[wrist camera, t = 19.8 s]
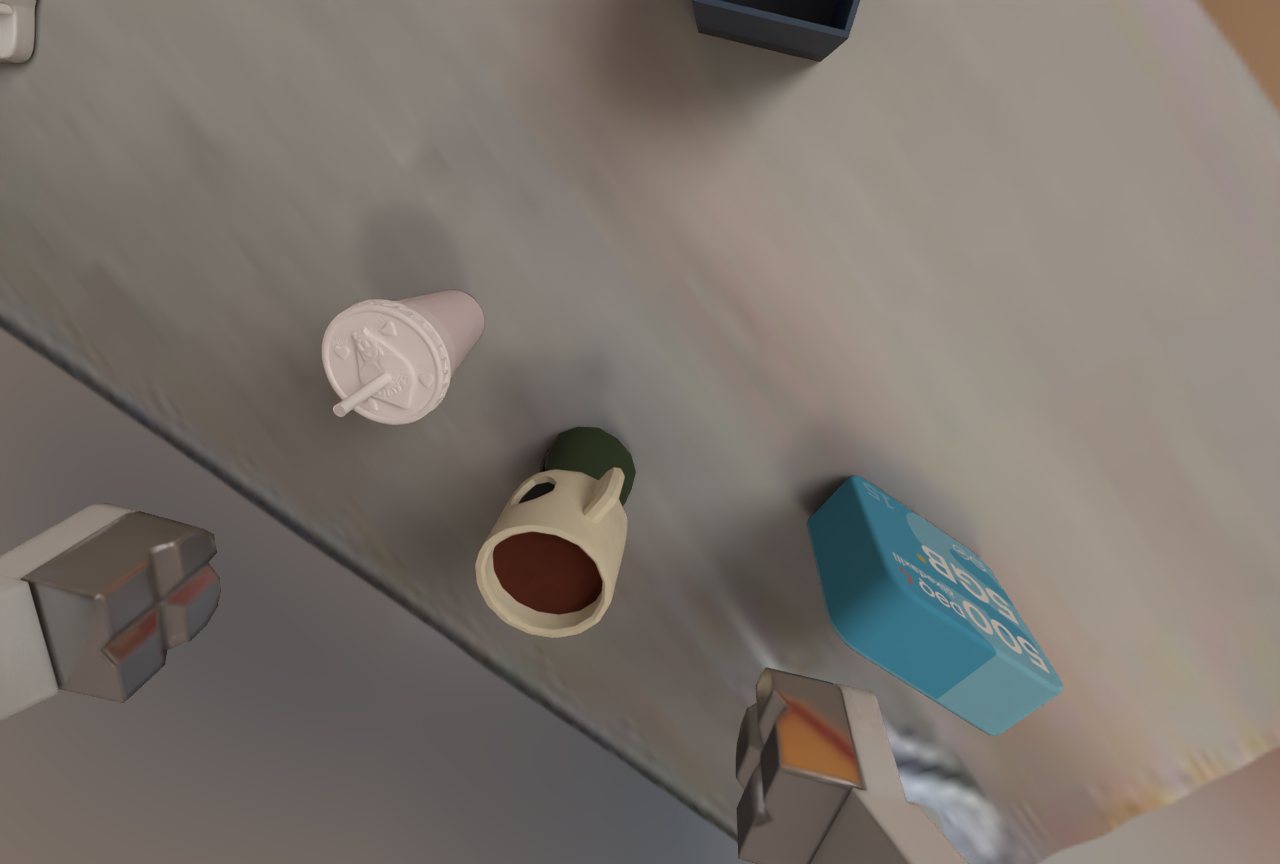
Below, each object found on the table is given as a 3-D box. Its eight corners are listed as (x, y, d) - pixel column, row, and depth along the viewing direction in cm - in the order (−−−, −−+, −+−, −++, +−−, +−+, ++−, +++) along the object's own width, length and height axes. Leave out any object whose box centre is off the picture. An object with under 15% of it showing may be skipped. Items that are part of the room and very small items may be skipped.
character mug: (597, 375, 40) (545, 470, 28) (681, 441, 41) (666, 558, 29) (507, 485, 44) (430, 607, 32) (586, 542, 45) (539, 679, 34)
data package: (985, 559, 42) (1077, 702, 31) (936, 601, 44) (1007, 749, 33) (847, 465, 40) (893, 582, 30) (802, 512, 42) (830, 638, 31)
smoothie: (441, 380, 41) (319, 483, 29) (388, 292, 39) (231, 361, 27) (523, 344, 40) (430, 436, 27) (472, 250, 38) (345, 302, 25)
